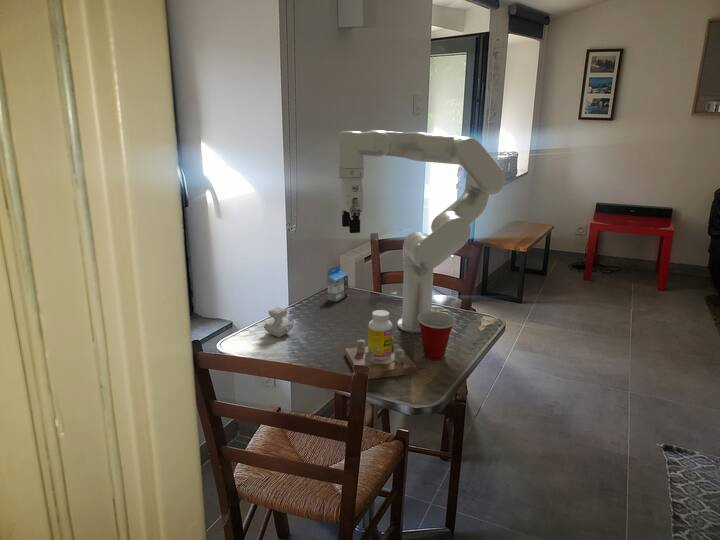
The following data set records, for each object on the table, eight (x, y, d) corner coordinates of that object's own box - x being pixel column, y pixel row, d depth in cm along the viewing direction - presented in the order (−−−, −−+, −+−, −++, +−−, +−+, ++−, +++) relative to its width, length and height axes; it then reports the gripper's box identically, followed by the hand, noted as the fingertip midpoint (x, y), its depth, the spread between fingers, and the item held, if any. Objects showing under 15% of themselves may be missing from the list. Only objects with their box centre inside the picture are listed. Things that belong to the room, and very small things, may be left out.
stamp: (296, 334, 171) (295, 309, 168) (281, 341, 166) (280, 315, 163) (276, 327, 176) (275, 303, 174) (261, 334, 171) (260, 309, 169)
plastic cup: (427, 367, 149) (429, 326, 146) (409, 351, 159) (410, 313, 156) (460, 360, 153) (463, 321, 150) (440, 346, 163) (442, 309, 160)
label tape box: (336, 302, 201) (336, 270, 197) (327, 300, 203) (326, 269, 199) (348, 295, 208) (348, 265, 205) (339, 294, 210) (339, 263, 207)
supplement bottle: (384, 363, 146) (385, 319, 143) (363, 357, 150) (363, 314, 146) (395, 354, 152) (397, 311, 148) (375, 349, 155) (376, 307, 151)
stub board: (397, 349, 160) (397, 332, 159) (416, 373, 146) (417, 354, 144) (345, 354, 156) (345, 337, 155) (359, 380, 142) (359, 361, 140)
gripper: (371, 176, 154) (370, 234, 158) (355, 170, 170) (355, 223, 174) (345, 176, 152) (345, 236, 157) (332, 170, 168) (333, 224, 173)
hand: (350, 229), depth 165 cm, fingers open, 9 cm apart
